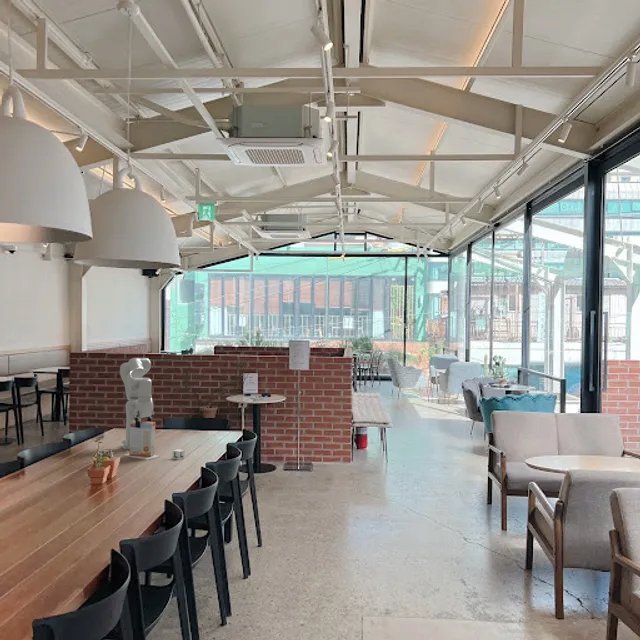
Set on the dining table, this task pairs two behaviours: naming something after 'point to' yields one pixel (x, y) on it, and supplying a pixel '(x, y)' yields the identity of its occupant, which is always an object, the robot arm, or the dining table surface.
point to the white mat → (142, 457)
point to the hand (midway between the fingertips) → (143, 426)
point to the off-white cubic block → (178, 454)
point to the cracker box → (142, 439)
